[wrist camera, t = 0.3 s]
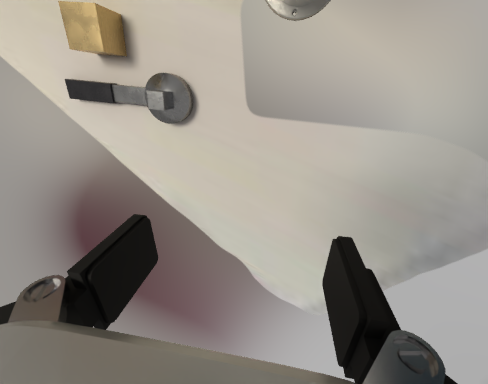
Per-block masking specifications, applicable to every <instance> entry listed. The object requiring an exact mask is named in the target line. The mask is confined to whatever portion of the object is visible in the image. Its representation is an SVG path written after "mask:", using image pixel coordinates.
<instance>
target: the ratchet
mask: <svg viewBox="0 0 488 384" xmlns="http://www.w3.org/2000/svg"><path fill="white" fill-rule="evenodd" d="M65 82H66V86H67V89H68V93H69V97H70V98H71V99H80V100H90V101H99V102H108V103H129V104H138V105H147V106H148V108H149V110H150V112H151V113H152V114H153V115H154V116H155V117H156V118H157V119H158V120H160V121H162V122H164V123H177V122H180V121H182V120H184V119H186V118H187V117H188V116H189V115H190V113H191V111H192V108H193V95H192V92H191V89H190V87H189V86H188V84H187V83H186V82H185V81H184V80H183V79H182V78H181V77H179V76H177V75H174V74H169V73H158V74H156V75H154V76H152V77H151V78H150V79H149V81H148V82H147V84H146V87H134V86H124V85H117V84H115V83H105V82H95V81H84V80H74V79H65Z"/></svg>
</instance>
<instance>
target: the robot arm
mask: <svg viewBox="0 0 488 384" xmlns="http://www.w3.org/2000/svg"><path fill="white" fill-rule="evenodd" d="M265 1H266V2H267V4H268V6H269V7H270V8H271V9H272V10H273V12H274V13H276V14H277V15H279V16H280V17H282V18H285V19H287V20H294V21H296V20H303V19H306V18H309V17H312V16H313V15H315V14H316V13H318V12H319V11H321V10H322V9H323V8H324V7H325V6H326V5H327V4H328V3H329V2H330V0H265ZM294 12H295V13H296V15H295V16H293V13H294ZM157 261H158V254H157V250H156V245H155V241H154V236H153V232H152V227H151V223H150V220H149V219H148V218H147V216H145V215H137V214H134V215H133V216H131V217H130V218H129V219H128V220H127V221H126V222H124V223H123V224H122V225H121V226H120V227H118V228H117V229H116V230H115V231H114V232H113V233H111V234H110V235H109V236H108V237H107V238H106V239H104V240H103V241H102V242H101V243H100V244H98V245H97V246H96V247H95V248H94V249H93V250H91V251H90V252H89V253H88V254H87V255H86V256H85V257H83V258H82V259H81V260H80V261H79V262H77V263H76V264H75V265H74V266H73V267H72V268H70V269H69V270H68V271H67V273H68V275H69V276H68V277H67V278H64V277H63V276H60V275H52V276H48V277H44V278H42V279H39V280H37V281H35V282H34V283H32V284H30V285H29V286H28V287H26V288H25V289H24V290H23V291H22V292H21V293H20V295H19V296H18V298H17V301H16V302H13V303H11V304H8V305H5V306H2V307H0V384H457V383H456V382H455V381H453V380H452V379H451V378H450V377H448V376H447V375H446V374H445V367H444V364H443V361H442V360H441V358H440V357H439V355H438V354H437V352H436V351H435V350H434V349H433V348H432V347H431V346H430V345H429V344H428V343H427V342H426V341H424V340H423V339H422V338H420V337H418V336H416V335H415V334H413V333H410V332H407V331H402V330H401V329H400V327H399V324H398V323H397V321H396V318H395V317H394V314H393V312H392V310H391V308H390V306H389V304H388V302H387V300H386V298H385V296H384V294H383V291H382V289H381V287H380V285H379V283H378V281H377V279H376V277H375V275H374V273H373V271H372V270H371V269H366V268H365V265H364V263H363V261H362V259H361V257H360V254H359V252H358V250H357V248H356V246H355V243H354V241H353V239H352V238H351V237H342V236H338V237H337V239H333V241H332V245H331V249H330V253H329V257H328V261H327V265H326V269H325V273H324V277H323V290H324V295H325V301H326V306H327V311H328V316H329V321H330V326H331V331H332V335H333V341H334V346H335V351H336V356H337V361H338V365H339V366H341V367H343V368H344V374H345V377H347V378H352V379H354V381H355V383H354V382H351V381H348V380H344V379H340V378H336V377H333V376H330V375H326V374H321V373H317V372H312V371H308V370H304V369H299V368H295V367H290V366H286V365H281V364H276V363H271V362H266V361H261V360H256V359H251V358H246V357H242V356H236V355H231V354H226V353H222V352H216V351H212V350H207V349H201V348H196V347H191V346H186V345H181V344H176V343H171V342H166V341H161V340H155V339H150V338H145V337H140V336H135V335H129V334H124V333H119V332H114V331H108V330H106V329H107V328H108V326H109V325H110V324H111V323H112V322H114V321H115V320H116V319H117V318H118V316H119V315H120V313H121V312H122V311H123V309H124V308H125V306H126V305H127V304H128V302H129V301H130V300H131V298H132V297H133V295H134V294H135V293H136V291H137V289H138V288H139V287H140V286H141V284H142V283H143V281H144V280H145V279H146V277H147V276H148V274H149V273H150V272H151V270H152V269H153V268H154V266H155V265H156V263H157ZM93 326H94V327H95V328H92V327H93Z"/></svg>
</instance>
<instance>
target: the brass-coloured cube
mask: <svg viewBox="0 0 488 384" xmlns="http://www.w3.org/2000/svg"><path fill="white" fill-rule="evenodd" d="M58 2H59V6H60V10H61V14H62V18H63V22H64V26H65V30H66V35H67V39H68V43H69V47H70V49H72V50H78V51H83V52H89V53H95V54H104V55H116V56H127V54H126V47H125V40H124V33H123V26H122V19H121V15H120V14H118V13H116V12H114V11H111V10H109V9H107V8H105V7H102V6H100V5H98V4H96V3H83V2H65V1H58Z"/></svg>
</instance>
